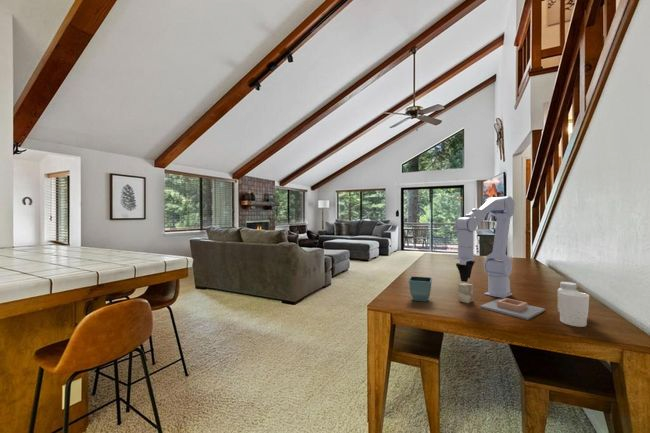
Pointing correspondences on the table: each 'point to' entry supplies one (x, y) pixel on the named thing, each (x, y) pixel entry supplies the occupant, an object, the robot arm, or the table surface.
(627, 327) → the table surface
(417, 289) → the flower pot
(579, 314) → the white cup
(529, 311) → the holder
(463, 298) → the peg
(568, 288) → the pill bottle
